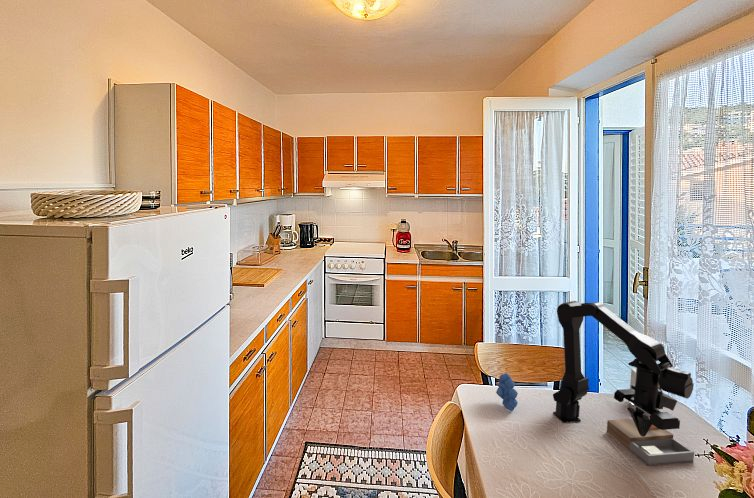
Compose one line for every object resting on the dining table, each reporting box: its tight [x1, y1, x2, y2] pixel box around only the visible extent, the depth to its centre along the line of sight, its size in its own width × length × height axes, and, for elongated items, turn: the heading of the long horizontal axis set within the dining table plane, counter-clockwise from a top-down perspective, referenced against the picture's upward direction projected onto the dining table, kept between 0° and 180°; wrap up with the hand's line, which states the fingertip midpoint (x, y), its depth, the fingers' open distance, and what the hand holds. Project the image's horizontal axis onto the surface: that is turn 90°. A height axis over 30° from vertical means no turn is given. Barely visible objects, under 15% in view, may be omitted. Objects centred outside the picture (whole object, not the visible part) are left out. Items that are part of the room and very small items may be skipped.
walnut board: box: [606, 418, 674, 451], centre depth 130 cm, size 14×10×4 cm
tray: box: [628, 437, 695, 467], centre depth 121 cm, size 14×7×3 cm, turn 98°
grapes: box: [495, 372, 519, 412], centre depth 149 cm, size 12×7×12 cm, turn 9°
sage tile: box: [641, 446, 663, 454], centre depth 120 cm, size 4×4×2 cm
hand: (642, 435), depth 123 cm, fingers closed
